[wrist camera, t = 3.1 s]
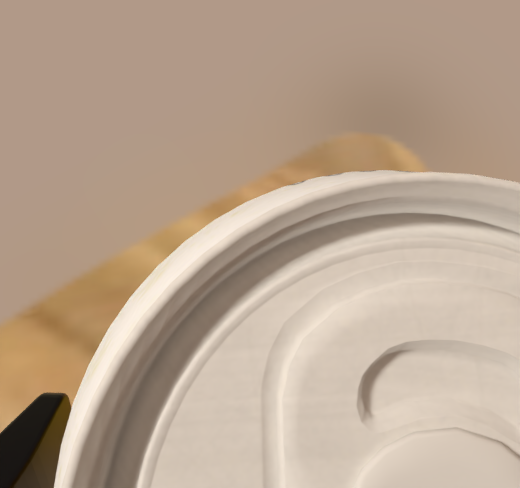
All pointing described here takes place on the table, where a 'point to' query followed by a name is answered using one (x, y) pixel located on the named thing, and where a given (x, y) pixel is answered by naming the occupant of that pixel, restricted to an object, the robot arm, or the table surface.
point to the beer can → (318, 346)
